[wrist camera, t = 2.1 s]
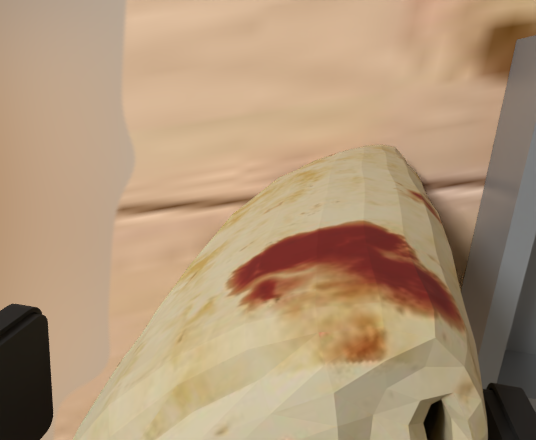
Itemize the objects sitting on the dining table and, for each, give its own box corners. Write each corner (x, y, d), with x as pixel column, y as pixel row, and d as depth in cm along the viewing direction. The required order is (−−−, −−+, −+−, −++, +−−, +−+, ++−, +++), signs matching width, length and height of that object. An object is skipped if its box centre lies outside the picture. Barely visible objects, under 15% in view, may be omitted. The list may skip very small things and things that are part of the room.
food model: (365, 98, 24) (364, 180, 5) (444, 203, 25) (704, 618, 6) (221, 212, 27) (-108, 524, 8) (295, 303, 28) (149, 782, 9)
